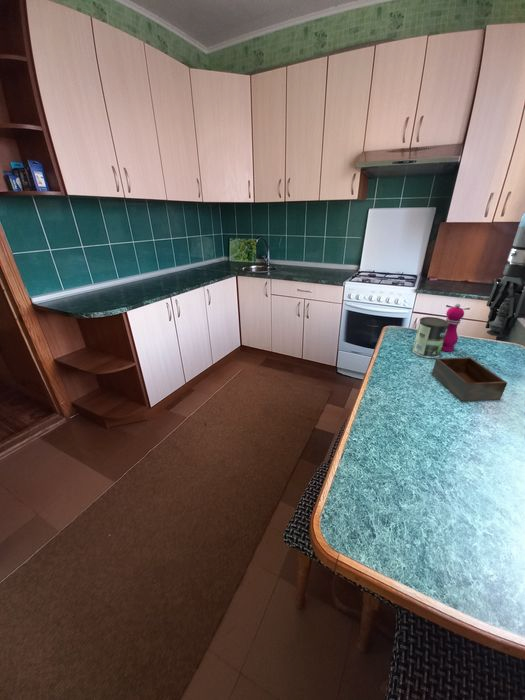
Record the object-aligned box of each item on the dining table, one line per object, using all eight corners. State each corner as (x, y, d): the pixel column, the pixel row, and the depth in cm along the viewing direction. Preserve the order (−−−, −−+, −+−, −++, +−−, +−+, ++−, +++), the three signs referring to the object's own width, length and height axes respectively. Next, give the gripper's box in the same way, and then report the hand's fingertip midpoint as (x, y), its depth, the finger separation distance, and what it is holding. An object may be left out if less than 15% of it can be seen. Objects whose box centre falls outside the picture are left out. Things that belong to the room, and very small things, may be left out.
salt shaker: (482, 329, 104) (493, 297, 99) (501, 330, 103) (513, 298, 98) (490, 336, 99) (502, 302, 94) (510, 337, 98) (523, 303, 93)
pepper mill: (434, 349, 124) (446, 304, 115) (436, 343, 129) (448, 300, 120) (453, 353, 120) (468, 307, 111) (455, 347, 125) (469, 302, 116)
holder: (464, 372, 107) (470, 357, 104) (500, 400, 92) (507, 382, 89) (431, 374, 106) (436, 358, 103) (461, 401, 91) (467, 384, 88)
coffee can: (442, 352, 122) (452, 320, 115) (435, 361, 115) (445, 328, 108) (416, 345, 128) (424, 314, 121) (408, 353, 121) (416, 321, 115)
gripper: (487, 258, 99) (467, 322, 109) (536, 269, 82) (507, 343, 92) (509, 258, 99) (487, 321, 109) (562, 268, 82) (530, 342, 93)
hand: (496, 331), depth 101 cm, fingers closed on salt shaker, 6 cm apart
